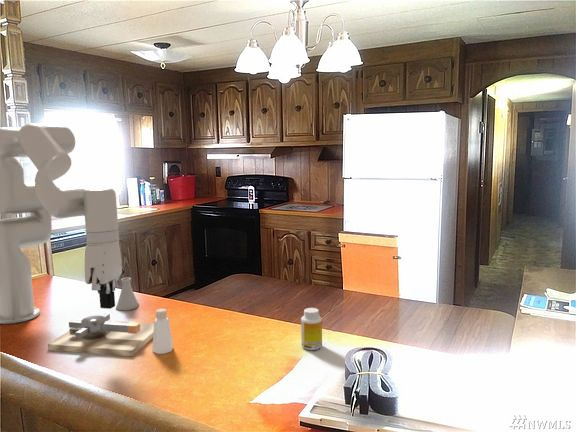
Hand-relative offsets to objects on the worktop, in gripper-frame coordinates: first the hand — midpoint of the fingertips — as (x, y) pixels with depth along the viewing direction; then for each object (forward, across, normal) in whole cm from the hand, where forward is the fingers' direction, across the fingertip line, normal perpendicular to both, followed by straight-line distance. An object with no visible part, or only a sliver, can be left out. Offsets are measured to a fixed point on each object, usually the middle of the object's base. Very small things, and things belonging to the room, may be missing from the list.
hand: (107, 307), depth 115 cm
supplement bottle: (+13, -12, +51) cm, 54 cm away
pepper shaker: (+13, -4, +12) cm, 18 cm away
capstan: (+10, -6, -6) cm, 13 cm away
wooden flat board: (+12, -8, -6) cm, 16 cm away
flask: (+12, -33, -14) cm, 38 cm away
